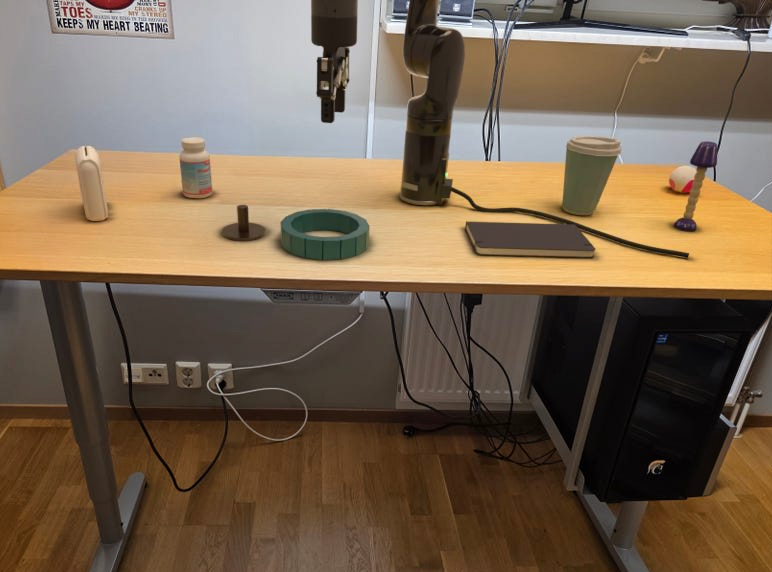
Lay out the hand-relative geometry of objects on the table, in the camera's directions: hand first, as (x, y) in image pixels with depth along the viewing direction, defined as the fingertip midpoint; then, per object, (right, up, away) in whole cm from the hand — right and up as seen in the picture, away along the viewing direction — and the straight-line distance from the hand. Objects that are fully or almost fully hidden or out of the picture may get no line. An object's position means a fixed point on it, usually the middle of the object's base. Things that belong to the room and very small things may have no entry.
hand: (333, 117), depth 114 cm
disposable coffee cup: (+51, -11, +24) cm, 57 cm away
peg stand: (-17, -19, +6) cm, 26 cm away
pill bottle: (-29, -8, +23) cm, 38 cm away
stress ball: (+80, -4, +37) cm, 88 cm away
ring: (-2, -21, +4) cm, 22 cm away
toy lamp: (+70, -16, +17) cm, 74 cm away
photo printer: (-46, -14, +12) cm, 50 cm away
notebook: (+36, -21, +7) cm, 42 cm away
